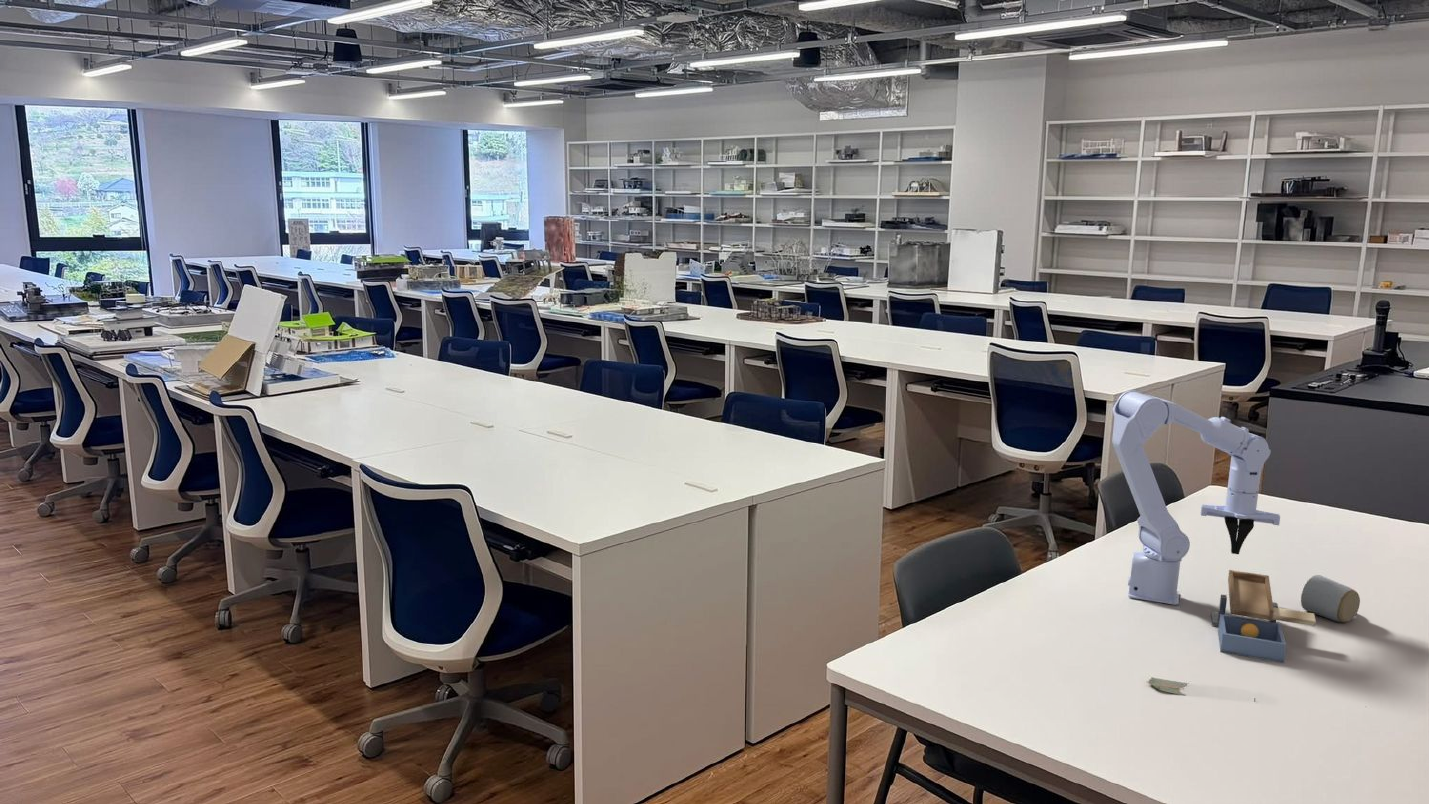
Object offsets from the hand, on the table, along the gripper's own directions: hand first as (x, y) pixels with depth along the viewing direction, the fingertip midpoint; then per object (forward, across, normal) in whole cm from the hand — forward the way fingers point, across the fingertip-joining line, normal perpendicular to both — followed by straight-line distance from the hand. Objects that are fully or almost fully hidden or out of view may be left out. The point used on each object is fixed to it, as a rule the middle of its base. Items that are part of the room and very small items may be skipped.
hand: (1234, 552), depth 211 cm
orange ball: (+8, +2, -25) cm, 26 cm away
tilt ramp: (+6, +6, -17) cm, 19 cm away
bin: (+9, +2, -28) cm, 29 cm away
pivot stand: (+9, +2, -17) cm, 20 cm away
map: (+10, -5, -51) cm, 52 cm away
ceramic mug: (+10, +18, -3) cm, 21 cm away
